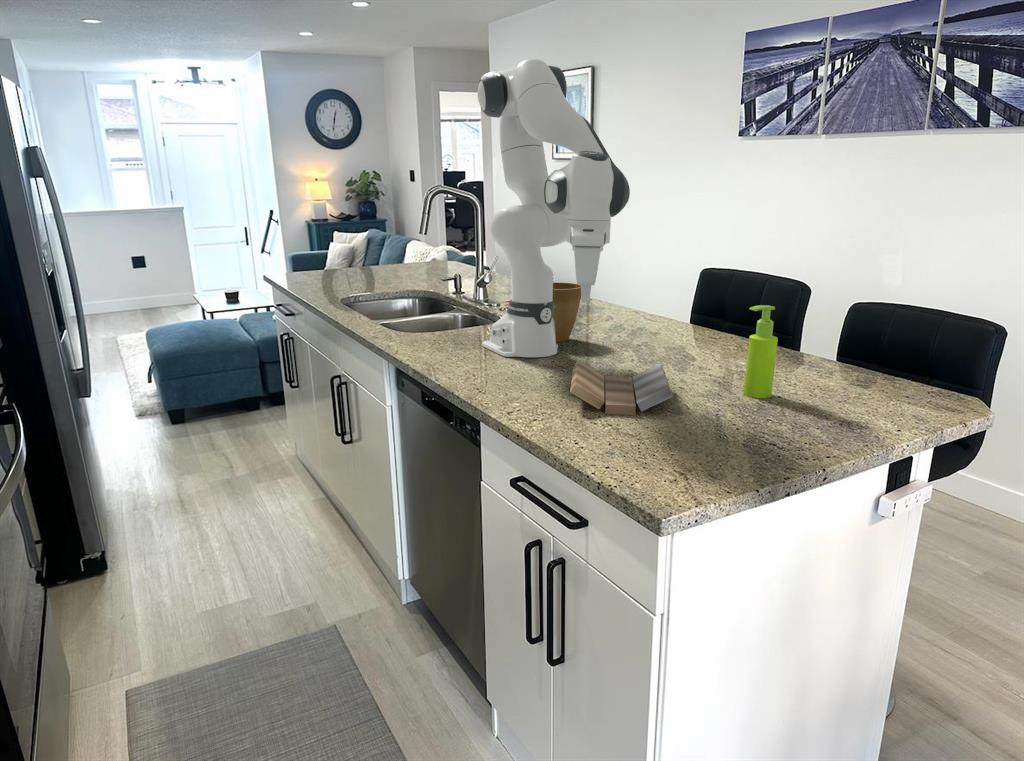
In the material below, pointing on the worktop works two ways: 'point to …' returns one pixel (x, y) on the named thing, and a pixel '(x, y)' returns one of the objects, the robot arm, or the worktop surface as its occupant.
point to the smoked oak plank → (587, 384)
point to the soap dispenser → (761, 356)
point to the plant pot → (565, 308)
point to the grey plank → (651, 387)
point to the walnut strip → (619, 396)
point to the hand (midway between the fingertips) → (585, 301)
